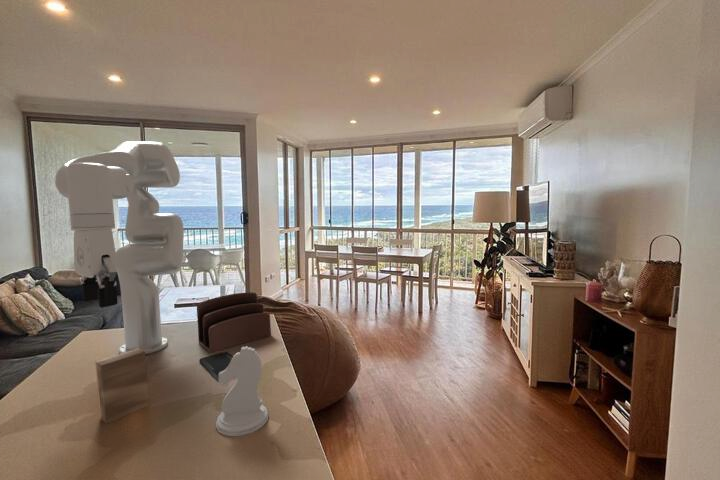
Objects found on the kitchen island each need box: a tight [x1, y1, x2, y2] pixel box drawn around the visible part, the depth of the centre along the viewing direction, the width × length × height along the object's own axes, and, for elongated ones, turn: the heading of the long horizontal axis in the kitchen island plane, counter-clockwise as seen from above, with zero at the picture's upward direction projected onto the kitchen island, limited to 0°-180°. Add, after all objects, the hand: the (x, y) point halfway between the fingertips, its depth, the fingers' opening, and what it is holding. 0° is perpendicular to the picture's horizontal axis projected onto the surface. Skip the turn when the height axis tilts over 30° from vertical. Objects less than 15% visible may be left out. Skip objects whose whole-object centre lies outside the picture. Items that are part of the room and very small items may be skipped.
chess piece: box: [215, 345, 269, 437], centre depth 70 cm, size 10×10×15 cm
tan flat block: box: [94, 348, 150, 424], centre depth 74 cm, size 3×8×12 cm, turn 144°
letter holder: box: [196, 291, 272, 354], centre depth 114 cm, size 10×20×14 cm, turn 132°
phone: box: [199, 351, 234, 381], centre depth 95 cm, size 8×1×15 cm
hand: (100, 302), depth 78 cm, fingers open, 8 cm apart
